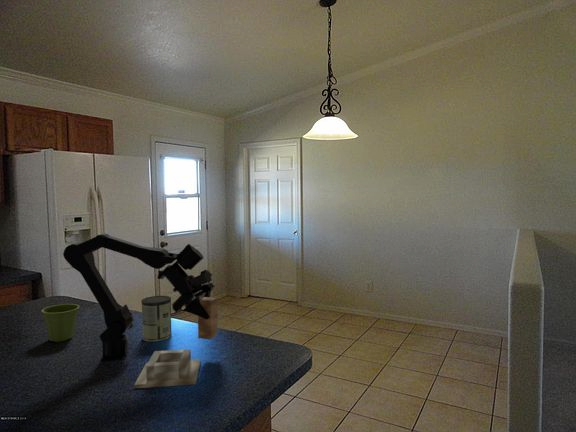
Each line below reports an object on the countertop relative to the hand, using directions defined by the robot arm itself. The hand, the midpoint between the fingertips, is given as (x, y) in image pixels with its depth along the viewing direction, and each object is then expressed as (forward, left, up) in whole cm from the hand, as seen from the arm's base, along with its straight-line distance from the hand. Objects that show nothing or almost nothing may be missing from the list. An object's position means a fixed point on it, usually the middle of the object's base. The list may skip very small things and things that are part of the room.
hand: (211, 316), depth 119 cm
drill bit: (-36, +36, -13) cm, 53 cm away
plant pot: (-55, +25, -13) cm, 62 cm away
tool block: (-11, -10, -13) cm, 20 cm away
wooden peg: (-1, +1, -7) cm, 7 cm away
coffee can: (-21, +22, -13) cm, 33 cm away
